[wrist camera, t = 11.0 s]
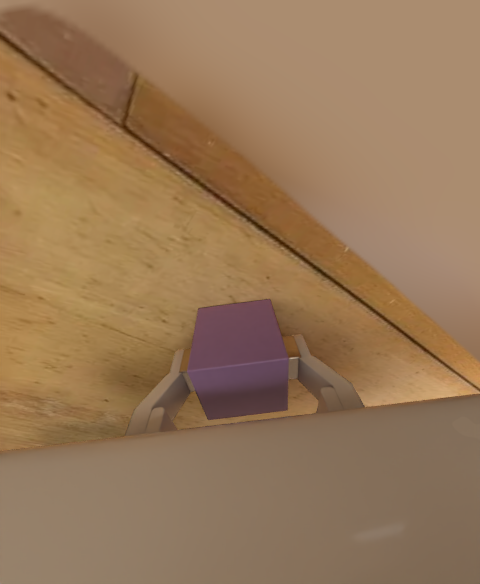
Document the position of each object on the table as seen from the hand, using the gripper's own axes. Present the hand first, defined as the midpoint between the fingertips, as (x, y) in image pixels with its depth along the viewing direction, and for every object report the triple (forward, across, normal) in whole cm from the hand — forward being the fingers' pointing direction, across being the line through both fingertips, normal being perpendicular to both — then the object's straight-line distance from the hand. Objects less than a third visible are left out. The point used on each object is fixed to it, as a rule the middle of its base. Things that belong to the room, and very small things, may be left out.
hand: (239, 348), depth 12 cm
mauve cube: (+2, 0, 0) cm, 2 cm away
